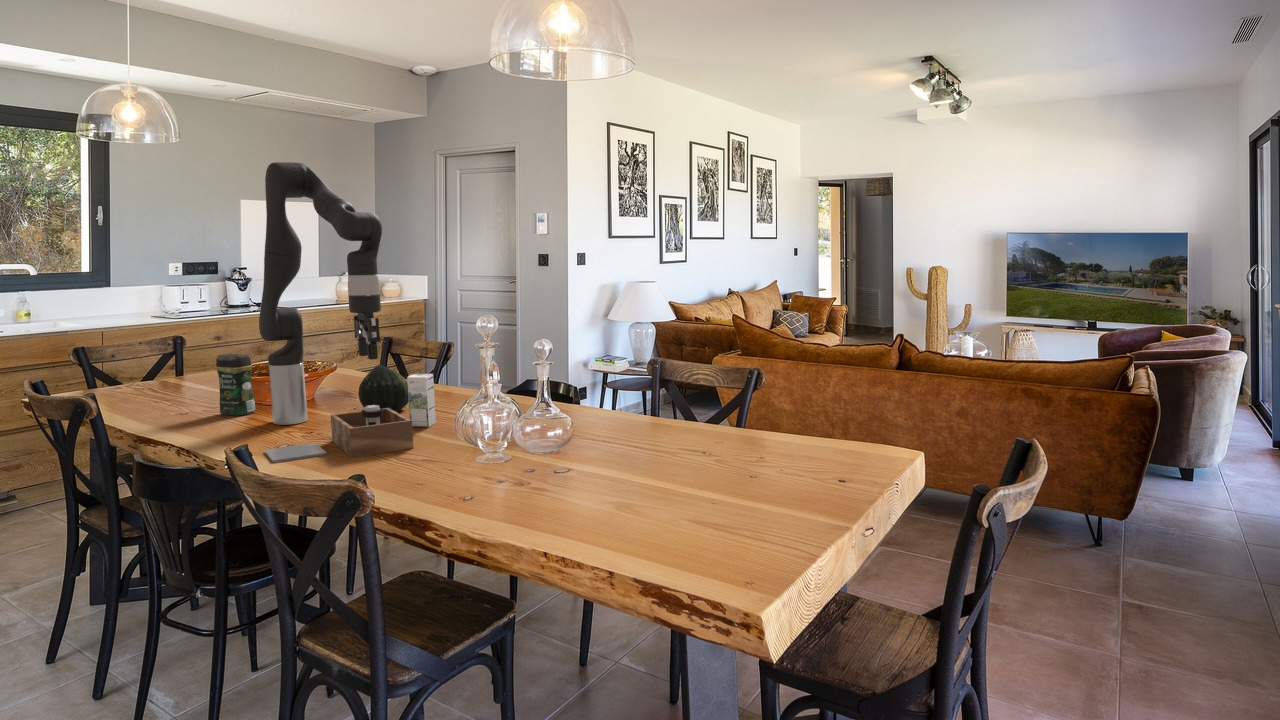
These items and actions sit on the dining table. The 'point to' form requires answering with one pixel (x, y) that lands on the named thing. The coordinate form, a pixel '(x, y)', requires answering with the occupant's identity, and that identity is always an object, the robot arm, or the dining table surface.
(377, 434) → the walnut box frame
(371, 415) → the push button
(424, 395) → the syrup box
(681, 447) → the dining table surface
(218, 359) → the coffee jar
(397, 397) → the squash
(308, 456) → the slate pad
